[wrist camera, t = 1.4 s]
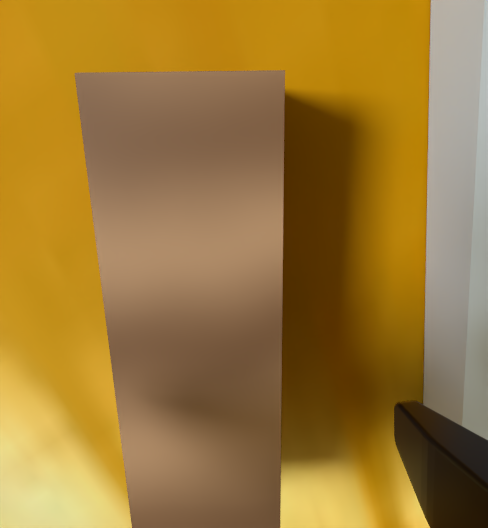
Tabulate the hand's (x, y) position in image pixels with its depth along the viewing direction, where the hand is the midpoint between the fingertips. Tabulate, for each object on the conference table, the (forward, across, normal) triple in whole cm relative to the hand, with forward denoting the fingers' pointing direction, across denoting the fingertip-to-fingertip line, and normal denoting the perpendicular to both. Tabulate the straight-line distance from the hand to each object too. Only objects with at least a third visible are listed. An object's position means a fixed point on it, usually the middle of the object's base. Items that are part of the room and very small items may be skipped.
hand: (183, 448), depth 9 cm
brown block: (+8, 0, 0) cm, 8 cm away
